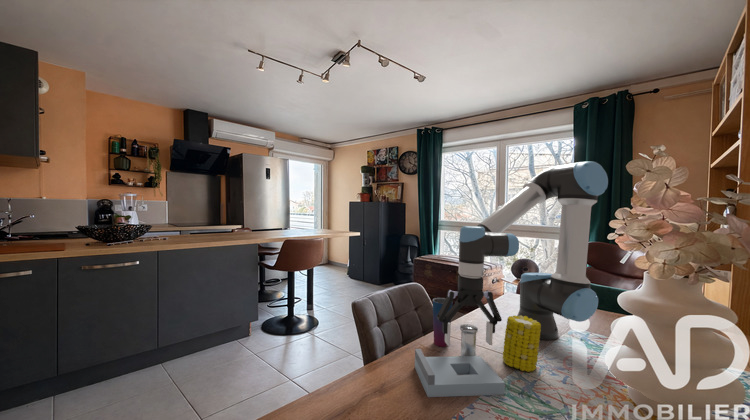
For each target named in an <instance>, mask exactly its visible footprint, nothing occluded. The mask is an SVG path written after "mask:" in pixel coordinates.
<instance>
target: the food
mask: <svg viewBox="0 0 750 420" xmlns="http://www.w3.org/2000/svg"><path fill="white" fill-rule="evenodd" d="M505 325H506V327H505V331H504V333H505V334H504V339H503V340H504V341H503V344H504V345H503V351H502V362H503V363H504V364H505V365H506V366H509V367H512V368H515V369H519V370H520V371H522V372H527V373H528V372H533V371H535V370H536V369H537V365H538V364H537V363H538V359H539V358H538V355H539V352H540V349H539V348H540V340H541V339H540V331H541V329H540V328H541V324H540V323H539V322H537V321H536V320H533V319H532V318H530V319H529V318H528V317H527V316H524V317H523V316H522V315H520V316H517V315H509V316H508V317H507V320H506V324H505Z"/></svg>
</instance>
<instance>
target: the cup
mask: <svg viewBox="0 0 750 420" xmlns="http://www.w3.org/2000/svg"><path fill="white" fill-rule="evenodd" d="M445 299H446V298H445V297H434V298H433V299H432V319H433V320H432V325H433V326H432V327H433V344H434V345H435V346H436V347H440V348H447V347H448V345H447V344H446V343H445V334H444V333H443V331H442V322H440V321H439V320H438V319H437V315H438V313H439V311H440V309H441V307H442V305H443V303H444V301H445ZM452 306H453V301H452V303H451V305H450V307H449V309H448V311H449V310H450V309H451V307H452ZM448 311H447V312H448ZM449 323H450V324H451V325H452V319H451V320H450V321H449Z"/></svg>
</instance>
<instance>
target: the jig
mask: <svg viewBox="0 0 750 420" xmlns="http://www.w3.org/2000/svg"><path fill="white" fill-rule="evenodd" d="M414 369H415V371H416V374H417V376H418V378H419V381H420V382H421V385H422V387H423V389H424V391H425V393H426V396H427V398H438V397H439V398H441V397H469V396H471V397H472V396H473V397H476V396H477V397H478V396H502V395H506V393H505V392H506V381H504V380H503V379H502V378H501V377H500V375H499V374H498V373H497V372H496V371H495V370H494V369H493V368H492V367H491V366H490V365H489V363H488V362H487V361H485V359H484V358H483V357H482V356H481V355H476V356H461V355H460V356H459V355H458V356H457V355H454V356H452V355H451V356H445V355H444V356H425V355H424V352H423V350H422V349H421V348H414Z"/></svg>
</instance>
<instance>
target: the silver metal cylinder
mask: <svg viewBox="0 0 750 420" xmlns="http://www.w3.org/2000/svg"><path fill="white" fill-rule="evenodd" d="M459 327H460V328H459V329H460V331H461V333H460V334H461V337H460V338H461V339H460V340H461V342H460V356H477V354H476V349H477V333H478V330H479V328H478V327H477V326H476V325H473V324H467V323H464V324H461V325H460V326H459Z"/></svg>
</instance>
